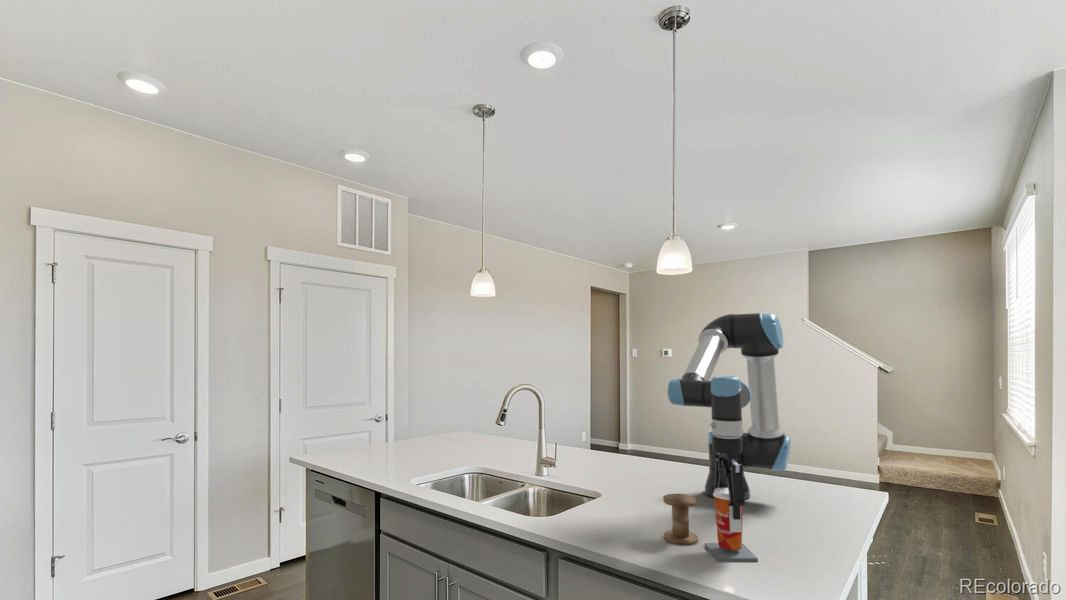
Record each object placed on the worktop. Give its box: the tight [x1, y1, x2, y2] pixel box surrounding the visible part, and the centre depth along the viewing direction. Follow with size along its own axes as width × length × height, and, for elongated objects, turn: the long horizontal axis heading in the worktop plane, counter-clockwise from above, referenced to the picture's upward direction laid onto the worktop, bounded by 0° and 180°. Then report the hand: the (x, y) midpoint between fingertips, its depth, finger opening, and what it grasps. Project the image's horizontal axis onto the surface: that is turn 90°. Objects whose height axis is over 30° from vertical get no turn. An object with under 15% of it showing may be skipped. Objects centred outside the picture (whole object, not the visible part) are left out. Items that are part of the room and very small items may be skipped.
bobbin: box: [662, 493, 699, 546], centre depth 149 cm, size 9×9×11 cm
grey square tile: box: [704, 542, 759, 563], centre depth 138 cm, size 10×10×1 cm
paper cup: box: [713, 487, 744, 550], centre depth 139 cm, size 8×8×14 cm
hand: (729, 525), depth 139 cm, fingers closed on paper cup, 8 cm apart
